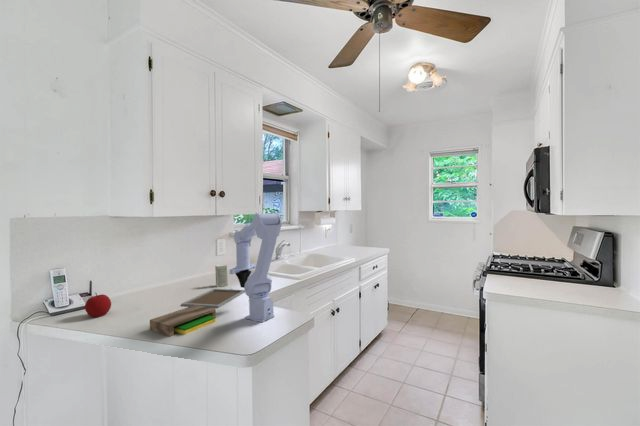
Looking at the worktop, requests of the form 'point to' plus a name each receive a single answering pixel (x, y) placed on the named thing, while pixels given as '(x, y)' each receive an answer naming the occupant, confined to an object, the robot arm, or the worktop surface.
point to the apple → (98, 305)
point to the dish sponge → (194, 324)
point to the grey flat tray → (214, 298)
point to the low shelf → (179, 318)
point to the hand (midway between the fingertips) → (243, 287)
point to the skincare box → (221, 275)
